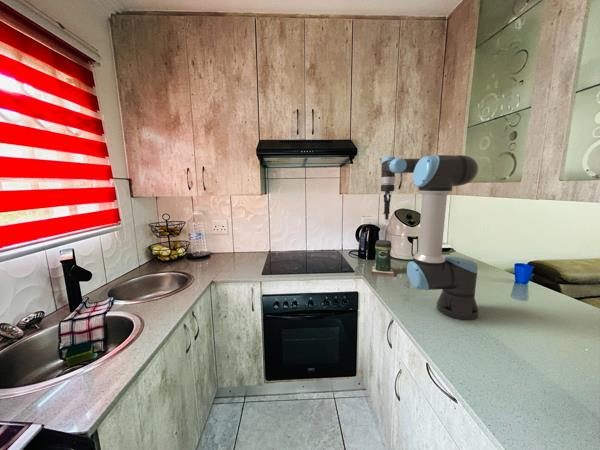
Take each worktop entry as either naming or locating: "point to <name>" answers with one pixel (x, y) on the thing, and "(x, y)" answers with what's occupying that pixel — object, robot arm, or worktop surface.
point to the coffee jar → (383, 255)
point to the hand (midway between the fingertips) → (386, 224)
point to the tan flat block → (382, 272)
